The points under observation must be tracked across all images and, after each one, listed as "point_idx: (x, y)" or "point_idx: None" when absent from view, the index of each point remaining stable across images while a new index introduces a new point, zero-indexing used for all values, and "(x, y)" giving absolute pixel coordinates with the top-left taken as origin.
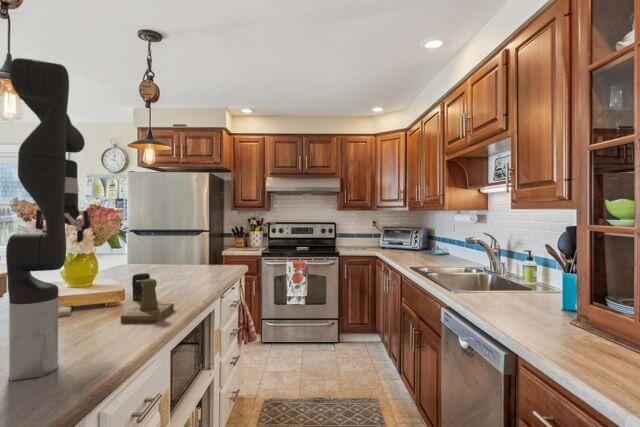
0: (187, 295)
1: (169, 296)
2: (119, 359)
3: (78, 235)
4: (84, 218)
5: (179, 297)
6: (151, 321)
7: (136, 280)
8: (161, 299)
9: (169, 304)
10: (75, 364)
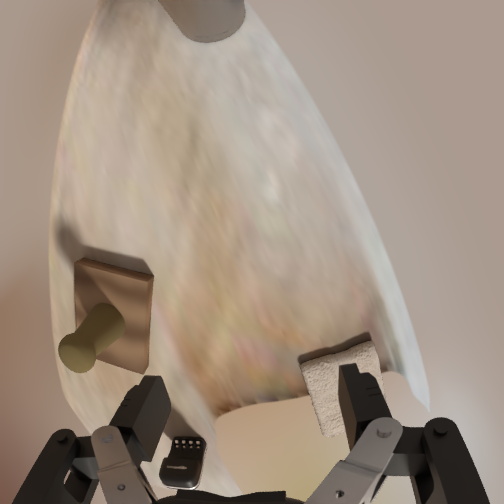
0: None
1: None
2: (94, 54)
3: (135, 403)
4: (42, 492)
5: None
6: (89, 260)
7: (185, 469)
8: None
9: None
10: (154, 35)
